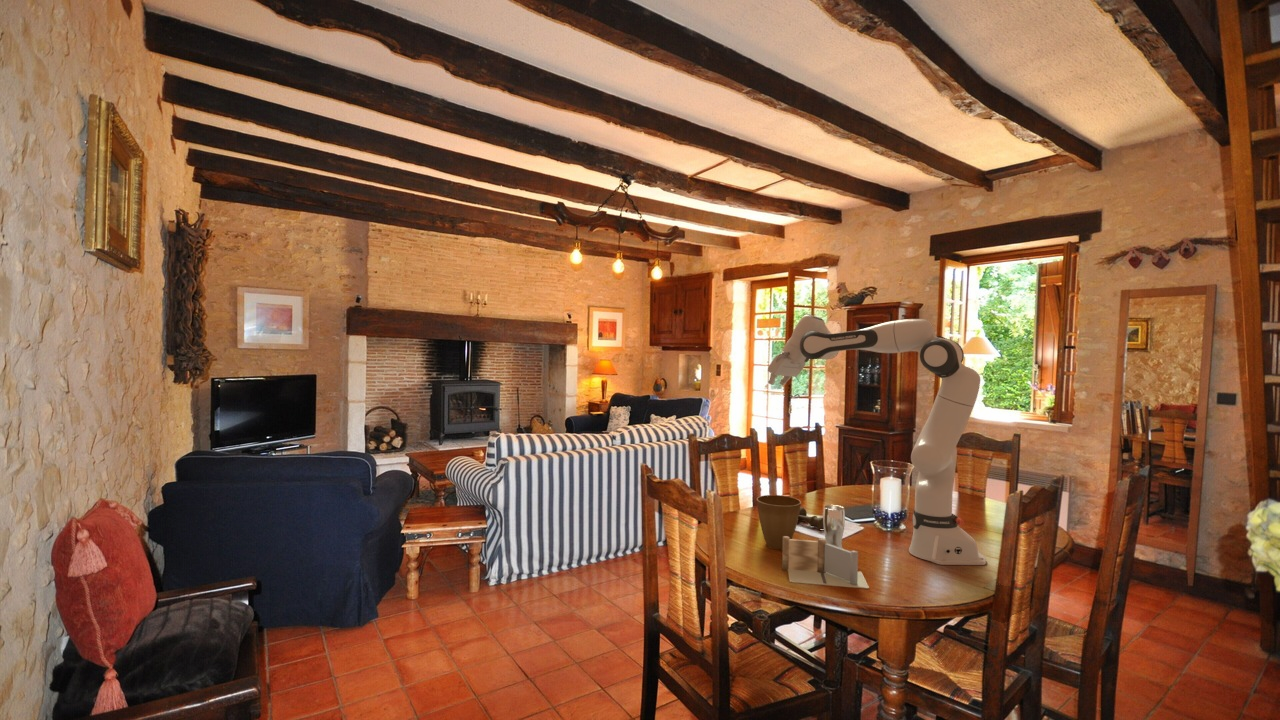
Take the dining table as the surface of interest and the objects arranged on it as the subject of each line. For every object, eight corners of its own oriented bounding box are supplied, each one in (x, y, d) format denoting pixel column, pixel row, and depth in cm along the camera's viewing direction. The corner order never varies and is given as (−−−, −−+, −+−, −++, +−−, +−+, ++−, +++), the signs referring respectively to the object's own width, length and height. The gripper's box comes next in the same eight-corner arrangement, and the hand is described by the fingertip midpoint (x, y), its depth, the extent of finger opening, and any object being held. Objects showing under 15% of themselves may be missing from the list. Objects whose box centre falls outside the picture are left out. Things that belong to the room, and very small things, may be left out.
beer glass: (824, 546, 201) (824, 503, 201) (845, 550, 198) (846, 506, 198) (820, 553, 195) (821, 508, 194) (842, 556, 192) (843, 511, 191)
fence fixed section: (824, 570, 180) (825, 538, 180) (825, 573, 177) (826, 541, 177) (782, 567, 182) (782, 535, 182) (782, 570, 180) (782, 538, 180)
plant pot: (797, 556, 192) (797, 507, 192) (752, 549, 198) (752, 502, 197) (803, 542, 206) (803, 497, 205) (760, 536, 212) (761, 492, 211)
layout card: (861, 572, 179) (861, 571, 179) (869, 588, 167) (869, 587, 167) (787, 566, 183) (787, 565, 183) (789, 582, 171) (789, 581, 171)
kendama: (816, 534, 216) (772, 520, 231) (831, 530, 222) (788, 516, 237) (817, 518, 215) (773, 505, 231) (832, 514, 221) (788, 501, 237)
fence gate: (823, 572, 177) (824, 542, 177) (827, 571, 178) (828, 541, 178) (854, 585, 168) (855, 553, 168) (858, 583, 169) (859, 552, 169)
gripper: (788, 356, 213) (769, 388, 217) (811, 358, 228) (794, 388, 232) (774, 347, 216) (756, 379, 220) (799, 350, 232) (781, 380, 236)
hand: (776, 384), depth 226 cm, fingers open, 8 cm apart
